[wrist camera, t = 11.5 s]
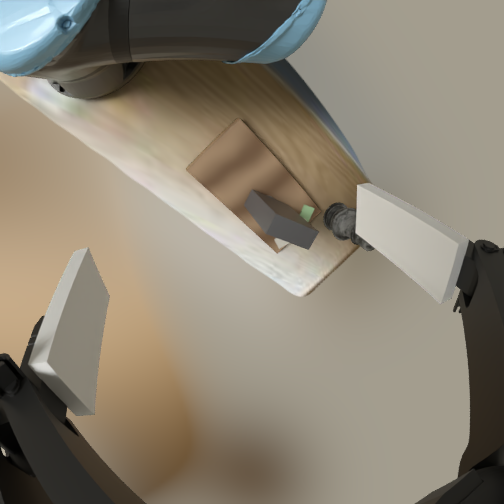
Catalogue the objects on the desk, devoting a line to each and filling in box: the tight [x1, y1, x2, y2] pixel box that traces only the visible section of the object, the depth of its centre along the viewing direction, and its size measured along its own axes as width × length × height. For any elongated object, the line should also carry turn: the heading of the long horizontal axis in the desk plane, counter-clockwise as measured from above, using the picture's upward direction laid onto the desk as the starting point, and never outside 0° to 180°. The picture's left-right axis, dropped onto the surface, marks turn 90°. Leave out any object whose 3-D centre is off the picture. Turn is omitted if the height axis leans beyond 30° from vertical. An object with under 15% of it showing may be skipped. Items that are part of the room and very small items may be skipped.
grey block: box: [244, 190, 319, 250], centre depth 39 cm, size 10×3×10 cm, turn 64°
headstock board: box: [186, 118, 321, 253], centre depth 42 cm, size 20×10×2 cm, turn 43°
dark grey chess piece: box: [323, 203, 375, 251], centre depth 44 cm, size 6×6×12 cm
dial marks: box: [274, 204, 315, 249], centre depth 46 cm, size 3×9×1 cm, turn 139°
